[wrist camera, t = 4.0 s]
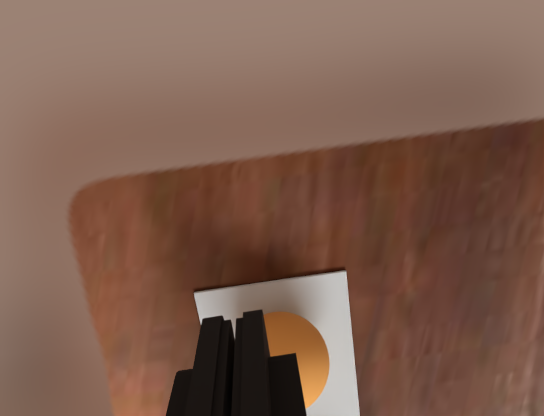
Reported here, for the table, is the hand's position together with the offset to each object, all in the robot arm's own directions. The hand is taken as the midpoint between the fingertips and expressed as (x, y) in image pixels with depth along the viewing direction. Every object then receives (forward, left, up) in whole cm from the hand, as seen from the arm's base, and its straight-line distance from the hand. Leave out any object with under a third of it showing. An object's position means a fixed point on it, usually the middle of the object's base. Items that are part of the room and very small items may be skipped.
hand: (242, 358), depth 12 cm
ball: (+9, 0, -12) cm, 15 cm away
